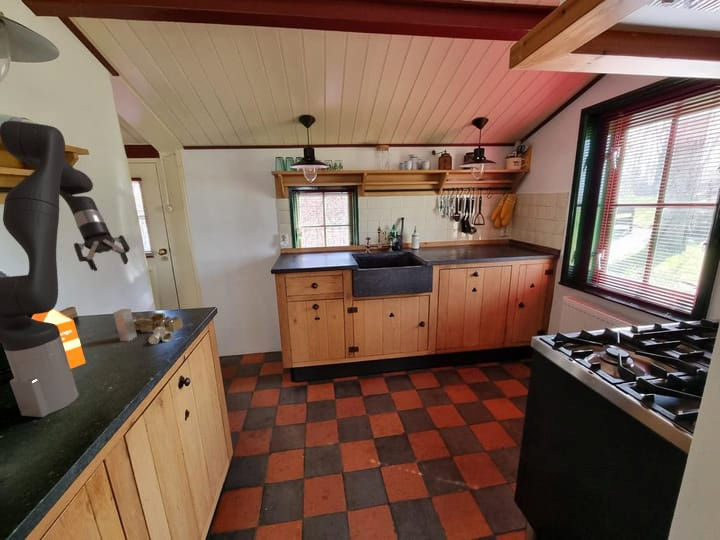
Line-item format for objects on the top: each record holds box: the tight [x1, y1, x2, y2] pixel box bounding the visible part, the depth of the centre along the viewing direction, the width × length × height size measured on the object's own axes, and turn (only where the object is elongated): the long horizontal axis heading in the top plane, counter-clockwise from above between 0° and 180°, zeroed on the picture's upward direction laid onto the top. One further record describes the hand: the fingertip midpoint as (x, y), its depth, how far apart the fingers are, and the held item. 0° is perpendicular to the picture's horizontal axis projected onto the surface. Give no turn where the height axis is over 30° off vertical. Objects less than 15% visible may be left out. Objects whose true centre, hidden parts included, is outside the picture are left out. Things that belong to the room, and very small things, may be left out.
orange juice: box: [31, 308, 86, 369], centre depth 90 cm, size 8×9×20 cm
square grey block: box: [113, 308, 138, 342], centre depth 108 cm, size 4×4×11 cm
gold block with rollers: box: [132, 312, 184, 333], centre depth 117 cm, size 7×21×5 cm, turn 83°
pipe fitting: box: [148, 327, 174, 345], centre depth 107 cm, size 8×4×7 cm
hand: (111, 266), depth 105 cm, fingers open, 8 cm apart
